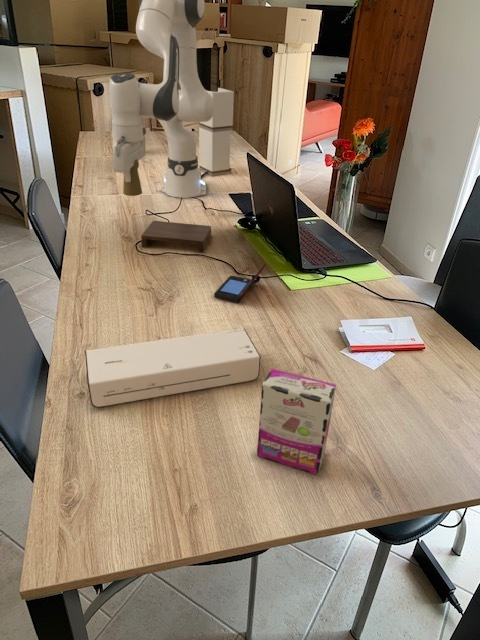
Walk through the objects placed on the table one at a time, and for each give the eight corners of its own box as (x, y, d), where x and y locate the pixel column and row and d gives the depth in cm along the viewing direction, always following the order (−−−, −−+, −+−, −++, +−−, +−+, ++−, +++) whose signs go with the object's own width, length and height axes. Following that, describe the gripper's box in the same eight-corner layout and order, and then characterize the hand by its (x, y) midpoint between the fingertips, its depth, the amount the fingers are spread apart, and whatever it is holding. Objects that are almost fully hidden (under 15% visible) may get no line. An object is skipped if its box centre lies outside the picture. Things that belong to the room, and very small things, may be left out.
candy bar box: (324, 455, 87) (338, 383, 78) (318, 476, 83) (331, 403, 74) (264, 437, 90) (271, 366, 81) (255, 456, 86) (261, 384, 77)
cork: (138, 196, 156) (135, 161, 150) (120, 194, 157) (116, 160, 151) (145, 190, 161) (142, 156, 155) (127, 188, 162) (124, 154, 156)
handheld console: (230, 278, 141) (231, 254, 137) (265, 286, 138) (267, 262, 134) (212, 298, 131) (212, 273, 127) (250, 307, 128) (251, 282, 124)
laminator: (91, 409, 94) (87, 384, 91) (88, 370, 104) (84, 346, 101) (259, 380, 103) (260, 356, 100) (241, 347, 113) (242, 324, 110)
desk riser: (153, 231, 168) (153, 220, 166) (211, 237, 166) (211, 225, 164) (141, 247, 157) (141, 235, 155) (203, 253, 155) (203, 241, 153)
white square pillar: (231, 173, 230) (233, 91, 211) (212, 176, 225) (212, 92, 206) (218, 167, 238) (219, 87, 219) (199, 169, 232) (198, 88, 213)
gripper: (126, 142, 140) (130, 189, 148) (147, 126, 157) (150, 170, 164) (104, 140, 141) (110, 188, 148) (128, 125, 157) (132, 168, 165)
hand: (131, 178), depth 156 cm, fingers closed on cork, 4 cm apart
